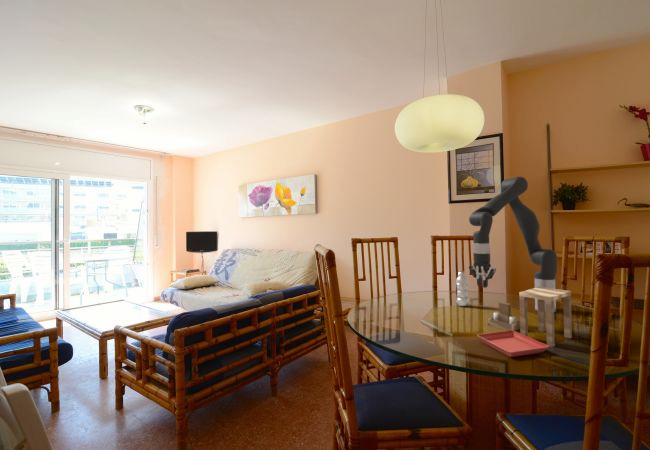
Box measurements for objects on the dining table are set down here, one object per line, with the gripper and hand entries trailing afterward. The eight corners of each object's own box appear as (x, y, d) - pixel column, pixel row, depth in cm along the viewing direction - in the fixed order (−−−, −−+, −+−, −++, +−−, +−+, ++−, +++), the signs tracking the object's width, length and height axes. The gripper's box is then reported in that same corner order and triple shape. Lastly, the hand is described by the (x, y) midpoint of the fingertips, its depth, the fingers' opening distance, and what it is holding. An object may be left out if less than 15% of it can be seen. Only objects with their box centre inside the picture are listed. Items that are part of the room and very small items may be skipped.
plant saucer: (550, 354, 120) (550, 345, 120) (509, 360, 116) (509, 351, 116) (512, 337, 137) (512, 329, 137) (476, 342, 133) (475, 334, 133)
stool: (540, 329, 144) (539, 286, 144) (571, 337, 134) (570, 291, 134) (520, 337, 136) (519, 292, 135) (552, 347, 125) (551, 297, 125)
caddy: (497, 321, 157) (496, 299, 157) (523, 328, 147) (522, 304, 147) (487, 325, 153) (487, 302, 153) (513, 332, 143) (512, 307, 142)
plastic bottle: (470, 307, 183) (469, 272, 183) (457, 307, 184) (456, 272, 184) (467, 304, 189) (466, 270, 189) (455, 304, 191) (454, 270, 190)
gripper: (464, 251, 162) (465, 285, 163) (490, 253, 150) (491, 290, 151) (473, 250, 166) (474, 283, 166) (499, 252, 154) (500, 288, 155)
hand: (482, 286), depth 159 cm, fingers closed
